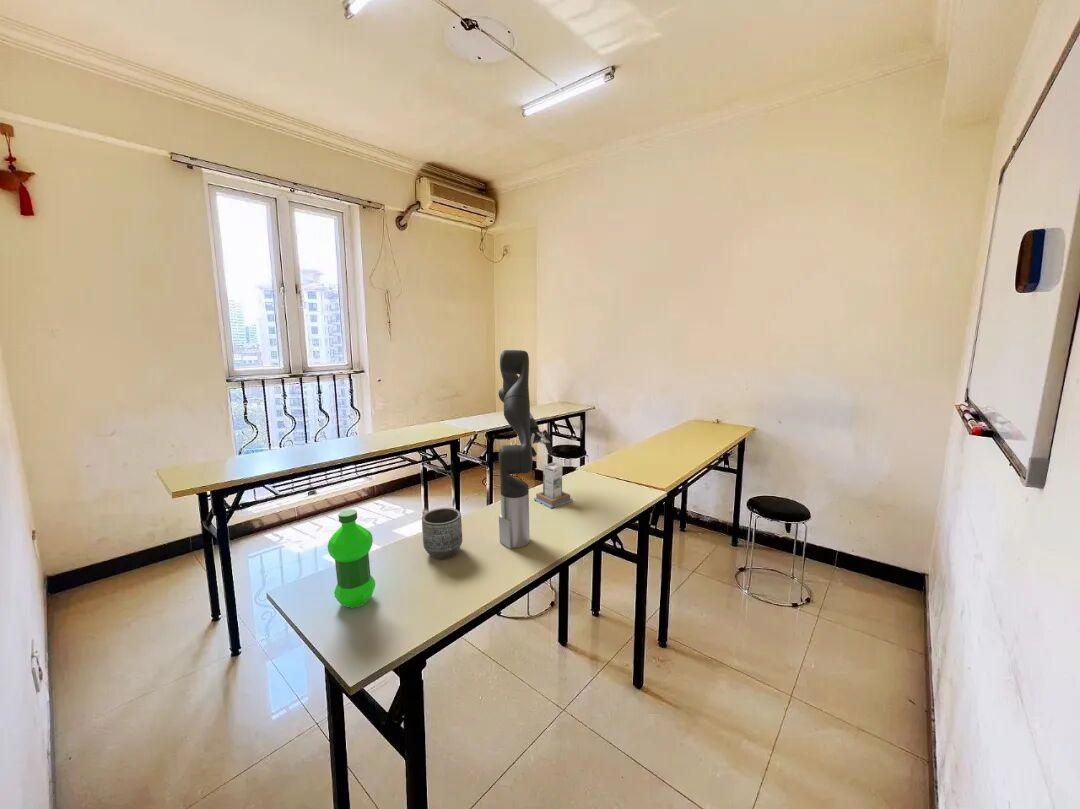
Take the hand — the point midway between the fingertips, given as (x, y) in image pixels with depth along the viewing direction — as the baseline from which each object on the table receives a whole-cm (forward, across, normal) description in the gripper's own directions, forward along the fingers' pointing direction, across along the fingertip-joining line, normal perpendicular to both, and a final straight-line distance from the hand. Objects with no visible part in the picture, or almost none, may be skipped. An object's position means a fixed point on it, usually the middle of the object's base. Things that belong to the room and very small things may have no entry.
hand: (543, 453), depth 178 cm
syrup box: (+17, 0, +8) cm, 19 cm away
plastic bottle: (+30, -83, -4) cm, 88 cm away
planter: (+24, -54, +2) cm, 59 cm away
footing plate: (+18, 0, +9) cm, 20 cm away
